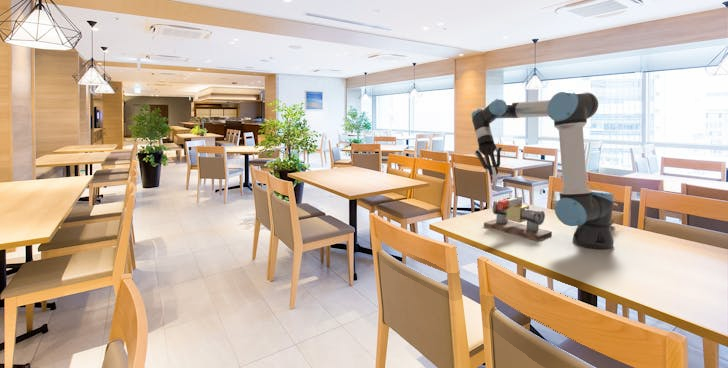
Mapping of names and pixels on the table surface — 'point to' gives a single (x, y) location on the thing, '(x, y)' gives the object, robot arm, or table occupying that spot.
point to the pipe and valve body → (520, 216)
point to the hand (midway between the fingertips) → (495, 180)
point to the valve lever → (510, 203)
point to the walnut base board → (518, 230)
